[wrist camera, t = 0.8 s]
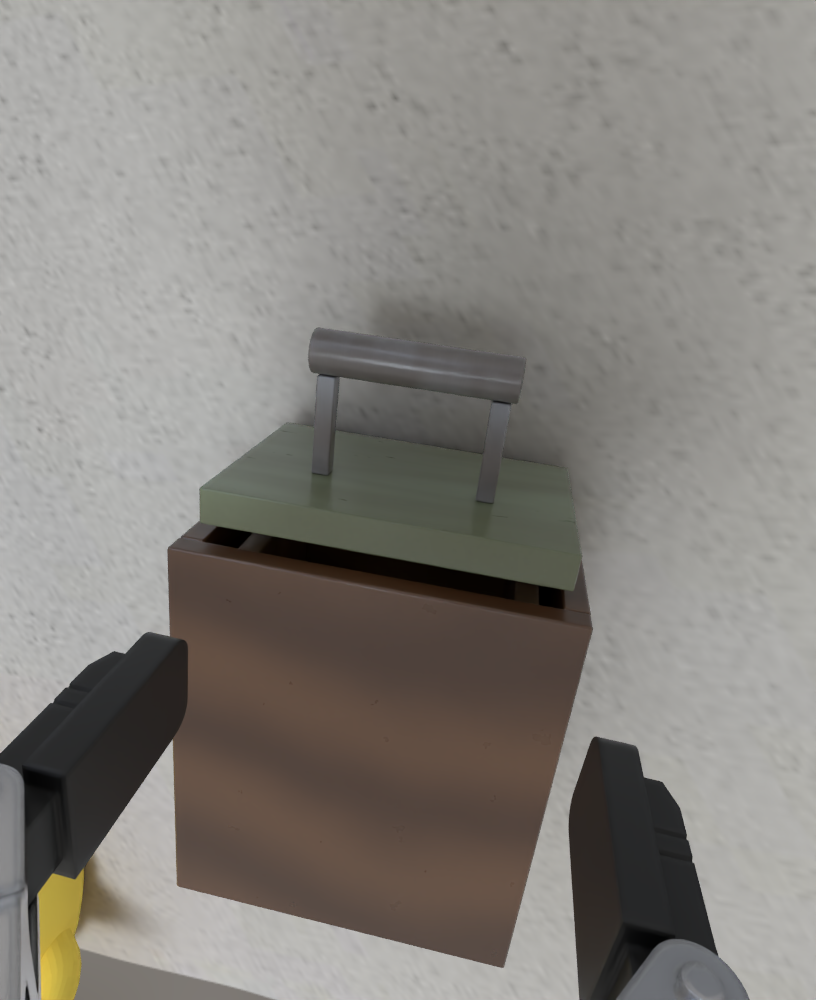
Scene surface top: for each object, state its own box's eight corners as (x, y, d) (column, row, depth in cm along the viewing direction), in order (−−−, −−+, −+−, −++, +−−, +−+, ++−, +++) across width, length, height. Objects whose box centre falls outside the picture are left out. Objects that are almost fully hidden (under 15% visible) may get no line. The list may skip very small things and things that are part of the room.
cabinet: (278, 452, 28) (166, 547, 20) (573, 501, 27) (594, 628, 18) (267, 719, 34) (176, 886, 25) (511, 772, 33) (503, 969, 24)
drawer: (292, 302, 25) (197, 328, 18) (595, 345, 24) (623, 391, 17) (274, 689, 32) (201, 818, 25) (508, 738, 31) (501, 889, 24)
